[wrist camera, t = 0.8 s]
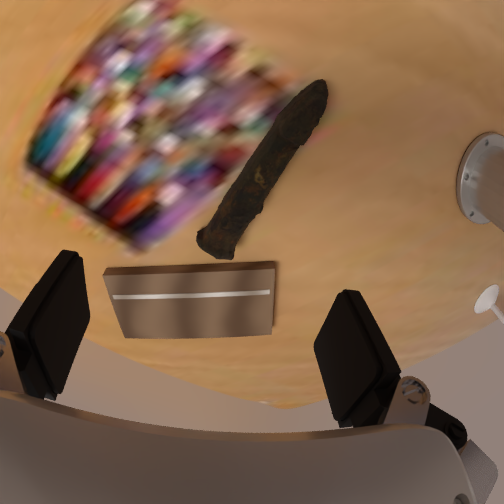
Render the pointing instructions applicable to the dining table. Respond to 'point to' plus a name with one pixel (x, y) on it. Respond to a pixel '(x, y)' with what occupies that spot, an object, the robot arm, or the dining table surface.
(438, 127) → the dining table surface
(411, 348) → the dining table surface
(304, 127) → the hand tool
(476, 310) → the champagne flute
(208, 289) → the board
